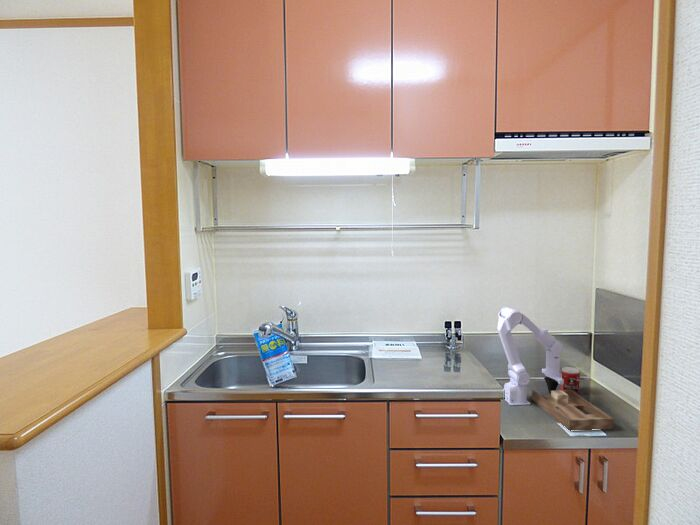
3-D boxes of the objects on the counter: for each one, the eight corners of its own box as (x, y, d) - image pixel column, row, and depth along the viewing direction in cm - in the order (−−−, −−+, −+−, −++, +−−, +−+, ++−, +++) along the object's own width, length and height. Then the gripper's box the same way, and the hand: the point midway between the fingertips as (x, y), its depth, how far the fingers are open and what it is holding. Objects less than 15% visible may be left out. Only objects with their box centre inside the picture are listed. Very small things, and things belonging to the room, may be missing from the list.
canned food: (562, 393, 193) (562, 371, 192) (560, 387, 200) (561, 366, 199) (580, 396, 190) (581, 373, 189) (577, 389, 197) (578, 367, 196)
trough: (569, 431, 158) (570, 420, 157) (531, 399, 186) (532, 390, 186) (613, 429, 159) (613, 418, 158) (568, 398, 188) (569, 388, 187)
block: (557, 404, 177) (557, 395, 177) (550, 399, 182) (551, 390, 182) (567, 403, 178) (568, 394, 177) (561, 398, 183) (561, 390, 182)
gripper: (570, 370, 178) (569, 399, 179) (552, 359, 192) (551, 386, 193) (555, 370, 177) (554, 400, 178) (537, 359, 191) (537, 387, 193)
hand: (551, 393), depth 186 cm, fingers closed
